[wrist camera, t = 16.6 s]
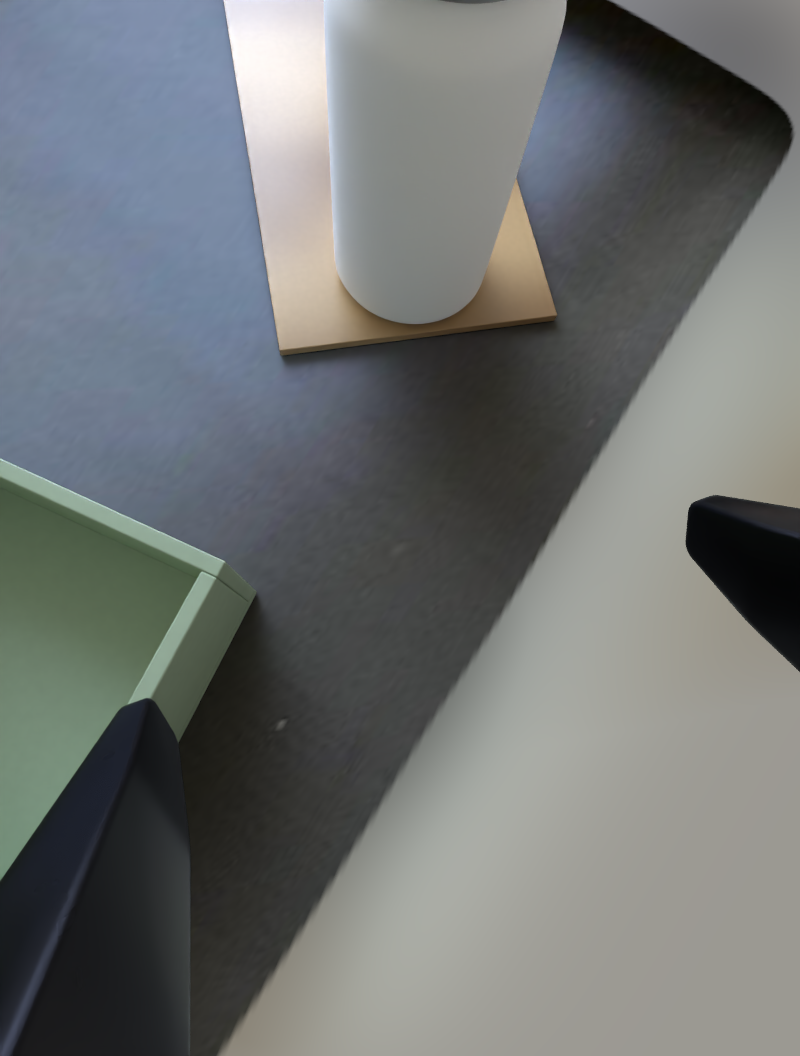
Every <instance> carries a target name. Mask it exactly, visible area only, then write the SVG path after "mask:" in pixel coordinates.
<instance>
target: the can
mask: <svg viewBox="0 0 800 1056" xmlns="http://www.w3.org/2000/svg"><path fill="white" fill-rule="evenodd" d="M565 13H566V0H324V27H325V55H326V79H327V104H328V127H329V150H330V172H331V194H332V215H333V236H334V253H335V263H336V269H337V272H338V275H339V277H340V279H341V281H342V283H343V285H344V286H345V288H346V289H347V291H348V292H349V293H350V294H351V296H352V297H353V298H354V299H355V300H356V301H357V302H358V303H359V304H360V305H361V306H363V307H364V308H365V309H367V310H368V311H370V312H371V313H373V314H375V315H377V316H379V317H382V318H384V319H387V320H390V321H394V322H399V323H405V324H425V323H431V322H436V321H440V320H443V319H445V318H448V317H450V316H452V315H454V314H455V313H457V312H459V311H460V310H461V309H463V308H464V307H465V306H466V305H467V304H468V303H469V302H470V301H471V300H472V299H473V298H474V296H475V295H476V293H477V292H478V290H479V288H480V286H481V283H482V281H483V278H484V275H485V272H486V269H487V266H488V263H489V260H490V257H491V254H492V251H493V248H494V245H495V242H496V239H497V236H498V233H499V230H500V227H501V223H502V220H503V217H504V214H505V211H506V208H507V205H508V202H509V198H510V195H511V192H512V189H513V186H514V183H515V180H516V177H517V173H518V170H519V167H520V164H521V161H522V158H523V155H524V151H525V148H526V145H527V142H528V139H529V136H530V132H531V129H532V126H533V123H534V120H535V117H536V113H537V110H538V107H539V104H540V101H541V98H542V94H543V91H544V88H545V85H546V82H547V78H548V75H549V72H550V69H551V65H552V62H553V59H554V56H555V52H556V49H557V45H558V42H559V38H560V35H561V31H562V27H563V23H564V18H565Z"/></svg>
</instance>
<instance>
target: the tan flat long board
mask: <svg viewBox="0 0 800 1056" xmlns="http://www.w3.org/2000/svg"><path fill="white" fill-rule="evenodd" d="M223 2H224V8H225V14H226V20H227V27H228V33H229V39H230V45H231V51H232V58H233V64H234V70H235V76H236V83H237V89H238V95H239V101H240V108H241V114H242V120H243V126H244V132H245V139H246V145H247V151H248V157H249V164H250V170H251V176H252V182H253V188H254V195H255V201H256V207H257V213H258V220H259V226H260V232H261V238H262V245H263V251H264V257H265V263H266V269H267V276H268V282H269V288H270V294H271V301H272V307H273V313H274V319H275V325H276V332H277V338H278V344H279V350H280V355H281V356H282V355H290V354H298V353H306V352H314V351H321V350H329V349H337V348H345V347H352V346H360V345H368V344H376V343H384V342H391V341H399V340H407V339H415V338H422V337H430V336H438V335H446V334H454V333H461V332H469V331H477V330H485V329H493V328H500V327H508V326H516V325H524V324H531V323H539V322H547V321H554V320H555V318H556V317H557V313H556V310H555V306H554V303H553V300H552V296H551V293H550V290H549V286H548V283H547V280H546V276H545V273H544V269H543V266H542V263H541V259H540V256H539V253H538V249H537V246H536V243H535V239H534V236H533V232H532V229H531V226H530V222H529V219H528V216H527V212H526V209H525V206H524V202H523V199H522V195H521V192H520V189H519V185H518V182H517V179H516V180H515V183H514V186H513V189H512V192H511V195H510V198H509V202H508V205H507V208H506V211H505V214H504V217H503V220H502V223H501V227H500V230H499V233H498V236H497V239H496V242H495V245H494V248H493V251H492V254H491V257H490V260H489V263H488V266H487V269H486V272H485V275H484V278H483V281H482V283H481V286H480V288H479V290H478V292H477V293H476V295H475V296H474V298H473V299H472V300H471V301H470V302H469V303H468V304H467V305H466V306H465V307H464V308H463V309H461V310H460V311H459V312H457V313H455V314H454V315H452V316H450V317H448V318H445V319H443V320H440V321H436V322H431V323H425V324H405V323H399V322H394V321H390V320H387V319H384V318H382V317H379V316H377V315H375V314H373V313H371V312H370V311H368V310H367V309H365V308H364V307H363V306H361V305H360V304H359V303H358V302H357V301H356V300H355V299H354V298H353V297H352V296H351V294H350V293H349V292H348V291H347V289H346V288H345V286H344V285H343V283H342V281H341V279H340V277H339V275H338V272H337V269H336V263H335V253H334V236H333V215H332V194H331V172H330V150H329V127H328V104H327V79H326V55H325V27H324V0H223Z"/></svg>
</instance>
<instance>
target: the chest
mask: <svg viewBox="0 0 800 1056" xmlns="http://www.w3.org/2000/svg"><path fill="white" fill-rule="evenodd" d="M256 593H257V592H256V591H255V590H254V589H253V588H252V587H251V586H250V585H249V584H248V583H247V582H246V581H245V580H244V579H243V578H242V577H241V576H240V575H238V574H237V573H236V572H235V571H234V570H233V569H232V568H231V567H230V566H229V565H228V564H227V563H226V562H225V561H223V560H221V559H219V558H217V557H214V556H212V555H210V554H208V553H206V552H203V551H201V550H199V549H197V548H195V547H193V546H190V545H188V544H186V543H184V542H182V541H179V540H177V539H175V538H173V537H171V536H169V535H166V534H164V533H162V532H160V531H158V530H155V529H153V528H151V527H149V526H147V525H145V524H142V523H140V522H138V521H136V520H134V519H131V518H129V517H127V516H125V515H123V514H121V513H118V512H116V511H114V510H112V509H110V508H107V507H105V506H103V505H101V504H99V503H97V502H94V501H92V500H90V499H88V498H86V497H83V496H81V495H79V494H77V493H75V492H73V491H70V490H68V489H66V488H64V487H62V486H59V485H57V484H55V483H53V482H51V481H49V480H46V479H44V478H42V477H40V476H38V475H35V474H33V473H31V472H29V471H27V470H25V469H22V468H20V467H18V466H16V465H14V464H11V463H9V462H7V461H5V460H3V459H1V458H0V880H1V879H2V877H3V876H4V875H5V873H6V872H7V870H8V869H9V867H10V866H11V864H12V863H13V862H14V860H15V859H16V857H17V856H18V854H19V853H20V851H21V850H22V849H23V847H24V846H25V844H26V843H27V841H28V840H29V838H30V837H31V836H32V834H33V833H34V831H35V830H36V828H37V827H38V826H39V824H40V823H41V821H42V820H43V818H44V817H45V815H46V814H47V813H48V811H49V810H50V808H51V807H52V805H53V804H54V802H55V801H56V800H57V798H58V797H59V795H60V794H61V792H62V791H63V789H64V788H65V787H66V785H67V784H68V782H69V781H70V779H71V778H72V776H73V775H74V774H75V772H76V771H77V769H78V768H79V766H80V765H81V763H82V762H83V761H84V759H85V758H86V756H87V755H88V753H89V752H90V750H91V749H92V748H93V746H94V745H95V743H96V742H97V740H98V739H99V737H100V736H101V735H102V733H103V732H104V730H105V729H106V727H107V726H108V725H109V723H110V722H111V720H112V719H113V717H114V716H115V714H116V713H117V712H118V710H119V709H120V708H121V707H123V706H125V705H127V704H130V703H133V702H136V701H139V700H141V699H144V698H150V699H152V700H154V701H155V702H156V704H157V705H158V707H159V709H160V710H161V712H162V714H163V715H164V717H165V718H166V720H167V722H168V723H169V725H170V727H171V728H172V730H173V732H174V733H175V736H176V738H177V741H178V743H179V741H180V739H181V737H182V735H183V733H184V731H185V729H186V727H187V726H188V724H189V722H190V720H191V718H192V716H193V714H194V712H195V710H196V708H197V706H198V704H199V703H200V701H201V699H202V697H203V695H204V693H205V691H206V689H207V687H208V685H209V683H210V681H211V679H212V678H213V676H214V674H215V672H216V670H217V668H218V666H219V664H220V662H221V660H222V658H223V656H224V655H225V653H226V651H227V649H228V647H229V645H230V643H231V641H232V639H233V637H234V635H235V633H236V631H237V630H238V628H239V626H240V624H241V622H242V620H243V618H244V616H245V614H246V612H247V610H248V608H249V607H250V605H251V603H252V601H253V599H254V597H255V595H256Z"/></svg>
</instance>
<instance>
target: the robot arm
mask: <svg viewBox="0 0 800 1056" xmlns="http://www.w3.org/2000/svg"><path fill="white" fill-rule="evenodd" d="M686 547H687V551H688V553H689V554H690V556H691V557H692V559H693V560H694V561H695V562H696V563H697V565H698V566H699V567H700V568H701V569H702V570H703V571H704V572H705V574H706V575H707V576H708V577H709V578H710V580H711V581H712V582H713V583H714V584H715V585H716V586H717V588H718V589H719V590H720V591H721V592H722V593H723V595H724V596H725V597H726V598H727V599H728V600H729V601H730V603H731V604H732V605H733V606H734V607H735V608H736V610H737V611H738V612H739V613H740V614H741V615H742V616H743V617H744V618H745V620H746V621H747V622H748V623H749V624H750V625H751V626H752V627H753V628H754V629H755V630H756V631H757V632H758V633H759V634H760V635H761V636H762V637H764V638H765V639H766V640H767V641H768V642H769V643H770V644H771V645H772V646H773V647H774V648H775V649H776V650H777V651H778V652H779V653H780V654H781V655H783V656H784V657H785V658H786V659H787V660H788V661H789V662H790V663H791V664H792V665H793V666H794V667H795V668H796V669H797V670H798V671H799V672H800V509H799V508H793V507H787V506H781V505H774V504H769V503H763V502H756V501H750V500H744V499H738V498H732V497H725V496H719V495H713V496H709V497H706V498H703V499H701V500H698V501H695V502H694V503H692V504H691V506H690V508H689V511H688V520H687V532H686ZM190 913H191V859H190V840H189V829H188V821H187V812H186V803H185V795H184V786H183V778H182V769H181V761H180V752H179V746H178V741H177V738H176V736H175V733H174V732H173V730H172V728H171V727H170V725H169V723H168V722H167V720H166V718H165V717H164V715H163V714H162V712H161V710H160V709H159V707H158V705H157V704H156V702H155V701H154V700H152V699H150V698H144V699H141V700H139V701H136V702H133V703H130V704H127V705H125V706H123V707H121V708H120V709H119V710H118V712H117V713H116V714H115V716H114V717H113V719H112V720H111V722H110V723H109V725H108V726H107V727H106V729H105V730H104V732H103V733H102V735H101V736H100V737H99V739H98V740H97V742H96V743H95V745H94V746H93V748H92V749H91V750H90V752H89V753H88V755H87V756H86V758H85V759H84V761H83V762H82V763H81V765H80V766H79V768H78V769H77V771H76V772H75V774H74V775H73V776H72V778H71V779H70V781H69V782H68V784H67V785H66V787H65V788H64V789H63V791H62V792H61V794H60V795H59V797H58V798H57V800H56V801H55V802H54V804H53V805H52V807H51V808H50V810H49V811H48V813H47V814H46V815H45V817H44V818H43V820H42V821H41V823H40V824H39V826H38V827H37V828H36V830H35V831H34V833H33V834H32V836H31V837H30V838H29V840H28V841H27V843H26V844H25V846H24V847H23V849H22V850H21V851H20V853H19V854H18V856H17V857H16V859H15V860H14V862H13V863H12V864H11V866H10V867H9V869H8V870H7V872H6V873H5V875H4V876H3V877H2V879H1V880H0V1056H190Z"/></svg>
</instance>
